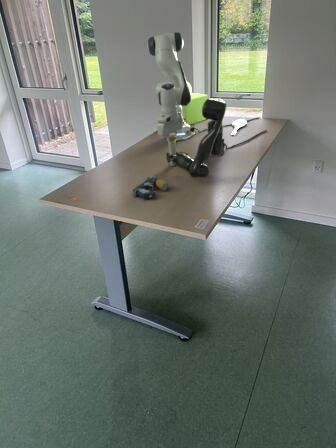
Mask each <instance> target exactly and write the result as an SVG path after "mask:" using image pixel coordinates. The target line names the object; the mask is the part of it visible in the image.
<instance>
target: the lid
mask: <svg viewBox="0 0 336 448" xmlns="http://www.w3.org/2000/svg"><path fill="white" fill-rule="evenodd" d="M169 138H171V139H170V140H171V141H174V140H176V136H175V135H169Z"/></svg>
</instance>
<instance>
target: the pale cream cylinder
mask: <svg viewBox="0 0 336 448" xmlns="http://www.w3.org/2000/svg"><path fill="white" fill-rule="evenodd" d="M167 143H168V153H169V154H171V155H172V154H174V155H176V152H177V144H176V143H177V142H176V141H175V140H174V141H169V142H167ZM169 165H170V166H171V167H174V166H177V165H176V163H175V162H173V161H170V162H169Z"/></svg>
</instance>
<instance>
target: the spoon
mask: <svg viewBox="0 0 336 448" xmlns="http://www.w3.org/2000/svg"><path fill="white" fill-rule="evenodd" d="M246 121H247V120H245V119H237V120H234V121H233V122H232V123H231V124H232V125H231V126H232V127H234V129H233V131H232V132H231V136H236V135H237V131H238V129H239V128H242V127H244V126H246V125H247V122H248V121H247V122H246Z"/></svg>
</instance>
